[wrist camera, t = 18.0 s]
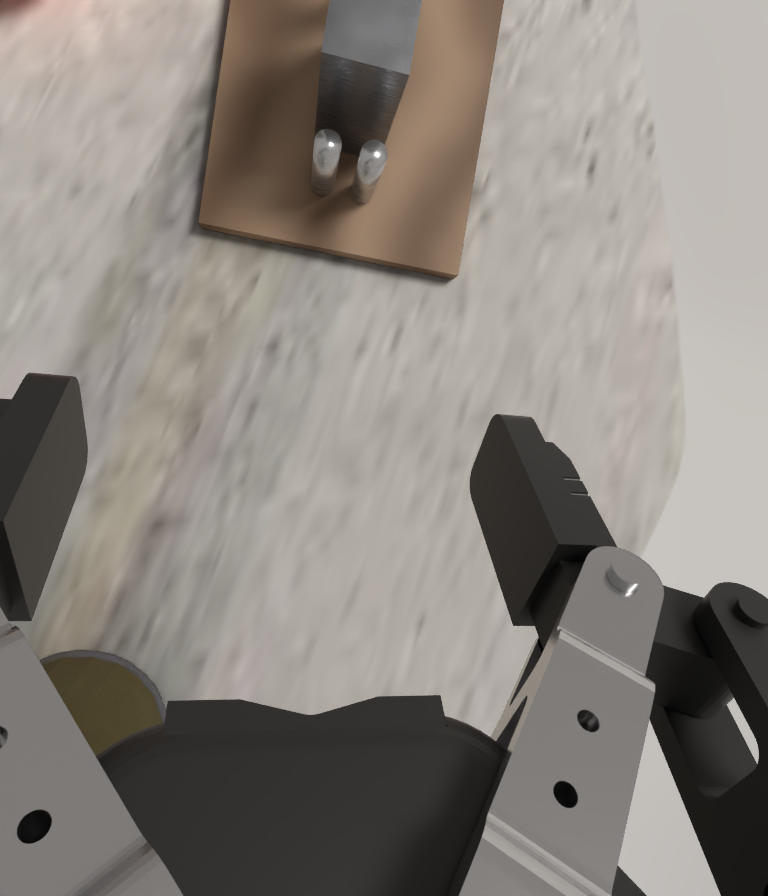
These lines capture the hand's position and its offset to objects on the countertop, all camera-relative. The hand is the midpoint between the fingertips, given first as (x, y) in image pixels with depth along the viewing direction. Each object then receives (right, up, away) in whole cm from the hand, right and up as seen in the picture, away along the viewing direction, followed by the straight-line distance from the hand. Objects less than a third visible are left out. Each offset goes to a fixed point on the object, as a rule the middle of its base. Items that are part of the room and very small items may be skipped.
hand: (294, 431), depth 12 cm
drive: (0, +20, +25) cm, 32 cm away
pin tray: (0, +21, +26) cm, 33 cm away
